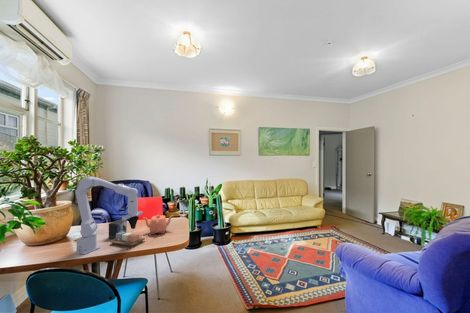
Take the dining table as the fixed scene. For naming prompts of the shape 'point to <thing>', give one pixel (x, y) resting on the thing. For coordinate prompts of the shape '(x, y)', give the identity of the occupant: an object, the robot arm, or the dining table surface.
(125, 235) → the button cream
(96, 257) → the dining table surface
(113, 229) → the small box
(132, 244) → the brown tray
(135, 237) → the button terracotta
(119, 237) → the button slate
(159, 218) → the teapot
